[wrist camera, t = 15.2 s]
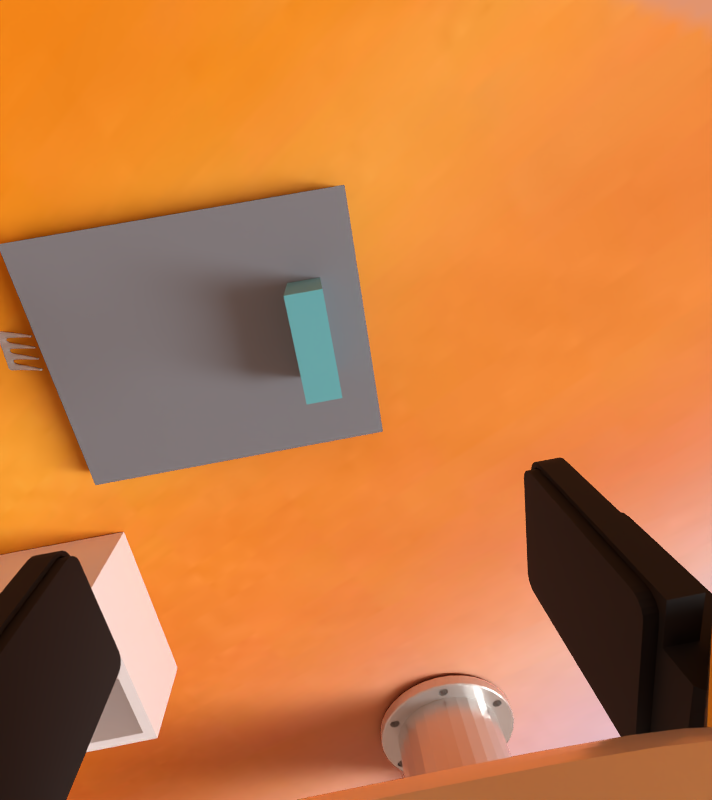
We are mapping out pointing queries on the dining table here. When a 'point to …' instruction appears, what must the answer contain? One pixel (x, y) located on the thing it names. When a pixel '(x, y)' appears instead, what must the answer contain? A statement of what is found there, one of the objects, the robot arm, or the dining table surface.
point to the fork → (10, 357)
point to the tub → (119, 637)
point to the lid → (203, 332)
